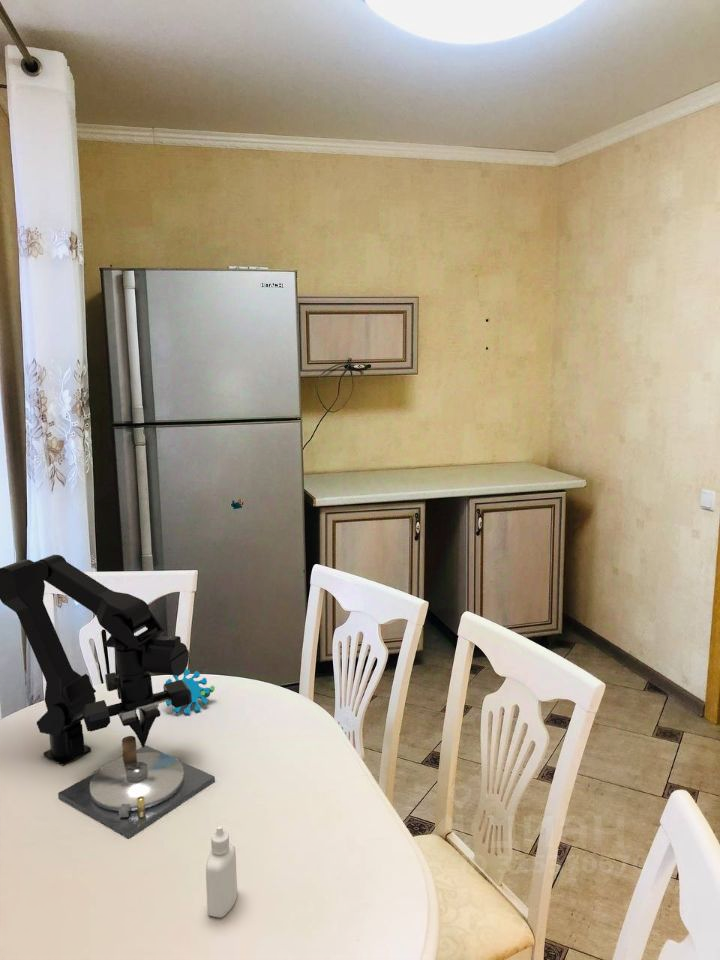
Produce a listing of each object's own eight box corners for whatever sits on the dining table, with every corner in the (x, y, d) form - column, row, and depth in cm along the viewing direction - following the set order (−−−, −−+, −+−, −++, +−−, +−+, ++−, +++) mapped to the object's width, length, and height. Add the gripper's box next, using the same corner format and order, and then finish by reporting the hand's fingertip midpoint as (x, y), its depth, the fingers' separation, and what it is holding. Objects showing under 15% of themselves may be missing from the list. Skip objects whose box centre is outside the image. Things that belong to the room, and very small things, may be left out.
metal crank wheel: (88, 824, 118) (85, 795, 117) (91, 767, 134) (89, 741, 133) (188, 805, 123) (187, 777, 122) (180, 752, 139) (178, 727, 138)
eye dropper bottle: (197, 906, 102) (193, 830, 100) (229, 885, 106) (226, 811, 104) (215, 923, 99) (212, 844, 97) (248, 900, 103) (245, 824, 101)
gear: (163, 713, 153) (164, 668, 159) (160, 722, 158) (160, 678, 163) (216, 711, 157) (214, 667, 163) (211, 720, 161) (210, 677, 167)
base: (58, 798, 127) (56, 777, 126) (145, 749, 142) (144, 730, 141) (128, 838, 116) (127, 816, 115) (214, 781, 132) (214, 761, 131)
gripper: (173, 641, 143) (181, 713, 147) (73, 665, 135) (84, 741, 138) (188, 662, 134) (196, 739, 137) (82, 688, 125) (93, 770, 128)
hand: (142, 746), depth 135 cm, fingers closed
